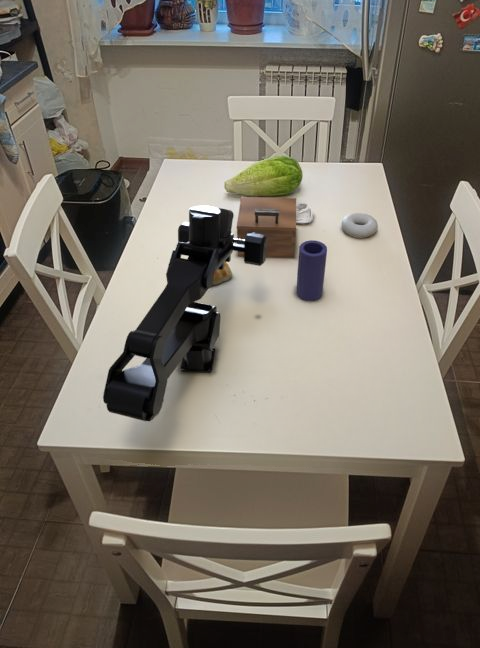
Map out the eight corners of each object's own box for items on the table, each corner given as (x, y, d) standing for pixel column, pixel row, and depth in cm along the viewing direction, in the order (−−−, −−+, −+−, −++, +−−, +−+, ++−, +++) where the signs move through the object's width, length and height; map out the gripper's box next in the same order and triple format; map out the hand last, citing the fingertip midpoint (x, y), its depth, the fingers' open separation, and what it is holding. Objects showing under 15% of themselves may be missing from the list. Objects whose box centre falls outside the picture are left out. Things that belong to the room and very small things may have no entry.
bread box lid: (296, 230, 126) (297, 215, 123) (236, 228, 127) (236, 213, 124) (296, 200, 137) (296, 186, 134) (241, 199, 138) (240, 184, 135)
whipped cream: (313, 229, 145) (316, 214, 141) (290, 227, 145) (292, 212, 141) (311, 212, 150) (314, 198, 147) (289, 210, 150) (291, 196, 146)
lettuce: (217, 170, 158) (222, 162, 146) (290, 155, 163) (302, 146, 151) (225, 208, 160) (232, 203, 148) (298, 193, 165) (310, 187, 152)
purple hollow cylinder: (322, 301, 120) (327, 256, 111) (296, 300, 120) (299, 255, 112) (321, 285, 125) (326, 240, 116) (296, 284, 125) (299, 239, 116)
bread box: (294, 258, 133) (296, 228, 127) (237, 256, 133) (237, 227, 127) (294, 229, 143) (296, 201, 137) (242, 227, 144) (241, 199, 138)
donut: (348, 218, 148) (335, 234, 141) (349, 207, 146) (337, 223, 139) (381, 226, 145) (370, 243, 138) (383, 216, 142) (372, 232, 136)
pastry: (203, 292, 122) (202, 280, 120) (188, 279, 126) (186, 267, 124) (234, 278, 127) (234, 265, 124) (219, 265, 130) (218, 253, 128)
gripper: (257, 224, 94) (277, 201, 107) (164, 209, 98) (195, 189, 111) (254, 278, 100) (273, 250, 113) (166, 262, 103) (195, 237, 117)
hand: (234, 231), depth 113 cm, fingers open, 9 cm apart
